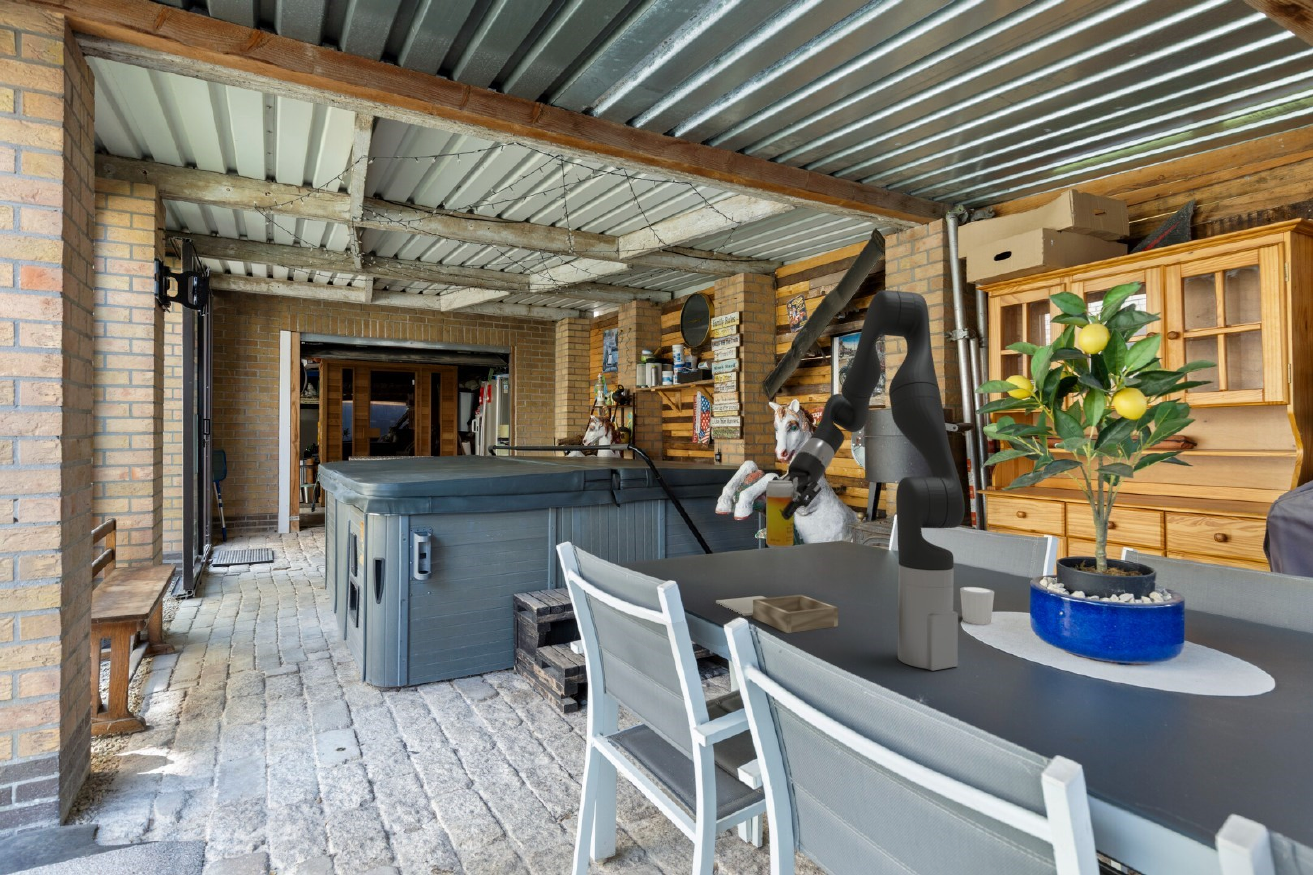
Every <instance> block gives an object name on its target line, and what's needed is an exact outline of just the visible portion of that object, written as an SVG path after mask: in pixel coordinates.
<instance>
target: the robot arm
mask: <svg viewBox="0 0 1313 875" xmlns="http://www.w3.org/2000/svg"><path fill="white" fill-rule="evenodd" d="M929 317H930V316H929V309H928V305H927V301H926V299H925V297H924V296H923V295H921V294H920V293H917V292H910V291H902V290H879V291H877V293H876V294H874V295H873V297H872V298H871V300H870V303H869V305H868V308H867V310H866V314H865V316H864V321H863V324H862V328H861V332H860V335H859V340H858V343H857V347H856V351H855V354H854V358H853V360H852V363H851V366H850V368H849V370H848V372H847V375H845V376H846V377H845V379H844V381H843V383H842V385H841V391H840V392H841V393H834V394H833V395H830V397H829V398H828V399H827V400H826V402H825V405H824V407H823V411H822V415H821V419H820V420H819V423H818V425H817V427H816V429H815V430H814V431H813V433H812V434H811V436H810V437H809V438H808V440H807V441H805V443H804V444H803V445H802V447H801V448H800V449H799V451H798V453H797V454H796V455H795V456H794V458H793V459H792V461H791V462H790V464H789V465H788V468H787V469H788V471H787V474H786V475H785V476H784V477H783V478H778V476H774V477H773V478H772V479H771V480H785V481H792V484H793V486H794V489H793V496H792V499H791V501H792V502H789V503H788V505H787V506H786V507H785V509H784V510H783V512H782V516H783V517H784V519H785V520H789V519H790V518H791V517H792V516H793V517H794V515H795V513H796V512H797V510H798V509H801V507H804V508H807V507H808V506H809V505H810V504H811V503H812V501H813V500H814V499H815V498H816V497H817V495H818V494H819V493H820V492H821V491H822V487H821V485H820V484H819V483H818V482H819V481H820V479H821V478H822V477H823V475H824V473H825V472H826V470H827V469H828V468H829V466H830V464H831V462H832V461H833V458H834V457H835V455H836V454H837V452H838V451H839V449H840V448H841V447H842V445H843V444H844V441H845V435H844V433H843V431H842V430H841V429H840V428H839V427H841V428H842V429H844V430H845V431H848V432H850V433H857V432H859V431H860V430H862V429H863V428H864V427H865V425H866V424H867V421H868V416H869V412H870V409H869V408H870V401H871V397H872V395H873V393H874V392H875V389H876V388H877V386H878V383H879V381H880V379H881V375H882V364H881V360H880V358H879V355H878V351H877V341H878V339H879V338H880V336H890V337H891V336H892V337H902V338H904V339H905V342H906V350H907V351H906V355H905V357H904V359H903V361H902V362H901V365H900V366H899V368H898V369H897V371H896V373H895V374H894V375H893V378H892V380H891V382H890V385H889V389H888V394H889V401H890V402H889V404H890V409H891V414H892V415H891V416H892V420H893V422H894V423H895V426H896V428H898V430H899V431H900V433H901V434H902V435H903V436H904V437H905V438H906V439H907V440H908V441H909V442H910V443H911V444H912V446H913V447H914V448H915V449H916V450H917V451H918V452H919V453H920V455H921V456H922V458H923V459H924V461H925V462H926V465H927V467H928V470H929V472H930V475H931V476H906V477H902V478H901V480H899V482H898V485H897V488H896V496H895V500H896V501H895V502H896V503H895V504H896V506H895V508H896V522H897V523H896V524H897V525H896V527H897V553H898V577H897V578H898V584H897V586H898V588H897V590H898V593H897V595H898V596H897V597H898V598H897V599H898V600H897V601H898V602H897V603H898V604H897V611H898V612H897V659H898V660H899V661H900V662H901V663H903V664H906V665H908V666H911V667H915V668H920V669H925V670H929V671H937V670H938V671H939V670H944V669H949V668H950V669H951V668H955V667H958V665H959V663H958V660H959V659H958V655H959V654H958V653H959V652H958V650H959V649H958V648H959V646H958V644H959V642H958V641H959V637H958V633H959V613H958V612H957V611H954V564H955V562H954V554H953V552H952V551H951V550H949V549H946V548H945V547H941V546H939V545H936V544H933V543H931V542H929V541H928V540H927V539H925V538H924V536H923V532H922V529H953V528H957V527H959V526H960V525H961V524H962V523H963V521H964V518H965V499H964V492H963V488H962V483H961V480H960V476H959V473H958V470H957V467H956V463H955V459H954V456H953V453H952V450H951V446H950V442H949V437H948V432H947V427H946V421H945V414H944V408H943V400H942V398H941V397H942V396H941V392H940V386H939V382H938V379H937V373H936V369H935V364H934V357H933V351H932V338H931V327H930V326H931V325H930V318H929ZM763 496H765V498H766V490H765V492H764V493H763ZM760 512H761V513H762V515H763V516H764V517H766V502H765V503H764V505H762V507H761V509H760Z"/></svg>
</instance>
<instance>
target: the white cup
mask: <svg viewBox="0 0 1313 875" xmlns="http://www.w3.org/2000/svg"><path fill="white" fill-rule="evenodd" d="M959 590H960V591H959V592H960V602H961V613H962V621H963V622H965V623H969V624H973V625H978V626H979V625H981V626H984V625H990V624H992V616H993V609H994V608H993V607H994V598H995V590H992V589H989V588H984V587H978V586H964V587H960V589H959Z"/></svg>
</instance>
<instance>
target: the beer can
mask: <svg viewBox="0 0 1313 875" xmlns="http://www.w3.org/2000/svg"><path fill="white" fill-rule="evenodd" d="M765 487H766V490H765V491H766V497H765V499H766V500H765V503H766V516H765V529H766V530H765V544H766V545H767V547H768V548H770V549H775V550H788V549H791V548H792V546H793V545H794V515H793V516H792V517H791V518H790V519H789V520H785V519H784V517H783V516H782V512H783V510H784V509H785V507H786V506H787V505H788V503H789V502H792V501H791V499H792V496H793V489H794V486H793V484H792V481H785V480H772V479H771V480H767V484H766V486H765Z"/></svg>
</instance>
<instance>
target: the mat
mask: <svg viewBox="0 0 1313 875" xmlns="http://www.w3.org/2000/svg"><path fill="white" fill-rule="evenodd" d="M765 598H767V597H765V596H763V595H757V596H747V597H746V596H745V597H738V598H737V597H736V598H729V599H717V600H715V604H716V605H719V604H720V605H719V606H721V605H722V606H721V607H724V608H726V609H728V608H729V609H728V610H730V609H731V610H730V611H732V610H733V611H732V612H735V613H737V612H738V613H737V614H739V615H741V614H742V615H741V616H742V617H743V616H744V617H746V616H753V600H755V599H765Z"/></svg>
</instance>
